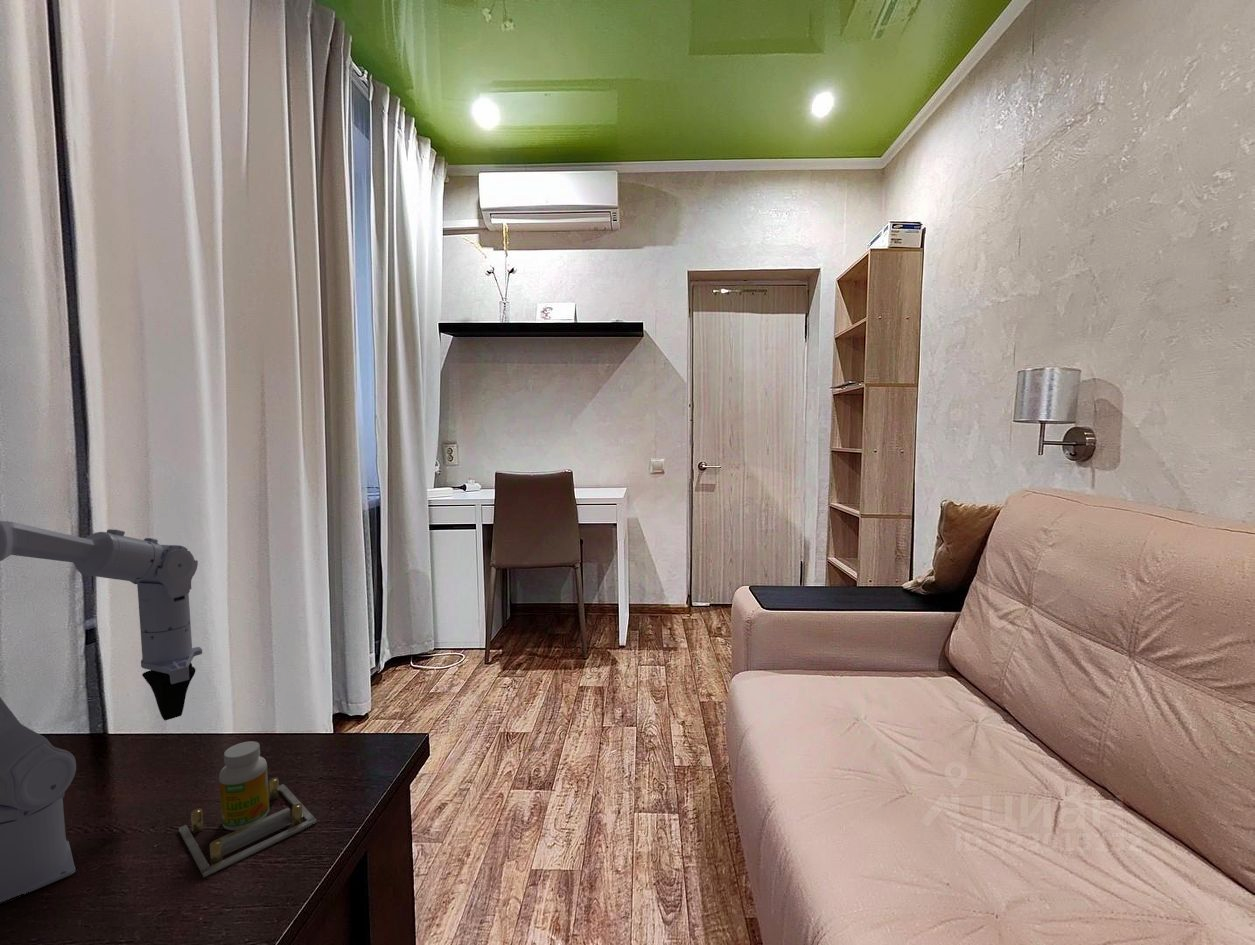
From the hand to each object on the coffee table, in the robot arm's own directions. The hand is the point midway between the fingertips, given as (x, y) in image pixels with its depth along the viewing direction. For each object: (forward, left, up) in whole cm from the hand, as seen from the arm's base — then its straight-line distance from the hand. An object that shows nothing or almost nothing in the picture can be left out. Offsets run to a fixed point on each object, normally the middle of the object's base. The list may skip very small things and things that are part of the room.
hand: (172, 716), depth 85 cm
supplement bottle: (+4, -17, -11) cm, 20 cm away
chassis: (+4, -19, -10) cm, 22 cm away
